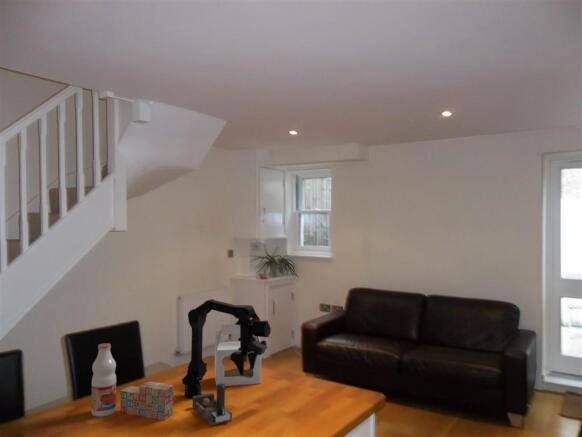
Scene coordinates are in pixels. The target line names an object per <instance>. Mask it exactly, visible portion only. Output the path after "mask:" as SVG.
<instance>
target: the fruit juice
mask: <svg viewBox="0 0 582 437" xmlns="http://www.w3.org/2000/svg"><path fill="white" fill-rule="evenodd" d="M111 348H112V346H111V343H110V342H108V343H107V342H106V343H100V344H98V346H97V350H98V354H97V356H96V358H95V360H94V362H93V363H92V366H91V367H92V368H91V369H92V370H91V371H92V373H93V374H92V377H91V378H92V379H91V408H90V409H91V410H90V411H91V414H92V416H93V417H96V418H97V417H98V418H102V417H107V416H108V417H109V416H111V415H113V414H114V413H115V412H116V409H117V375H116V367H117V362H116V360H115V359H114V357H113V355H112V352H111Z"/></svg>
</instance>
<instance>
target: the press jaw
mask: <svg viewBox="0 0 582 437" xmlns="http://www.w3.org/2000/svg"><path fill="white" fill-rule="evenodd" d="M225 388H226V386H225V385H224V384H218V385H217V386H216V400H217V402H216V412H213V413H211V416H212V417H213V420H214V421H215V422H221V421H225V420H229V419H230V414H229V413H228V412H227V411H226V410H225V408H226V406H225V403H226V401H225V400H226V389H225Z"/></svg>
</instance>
